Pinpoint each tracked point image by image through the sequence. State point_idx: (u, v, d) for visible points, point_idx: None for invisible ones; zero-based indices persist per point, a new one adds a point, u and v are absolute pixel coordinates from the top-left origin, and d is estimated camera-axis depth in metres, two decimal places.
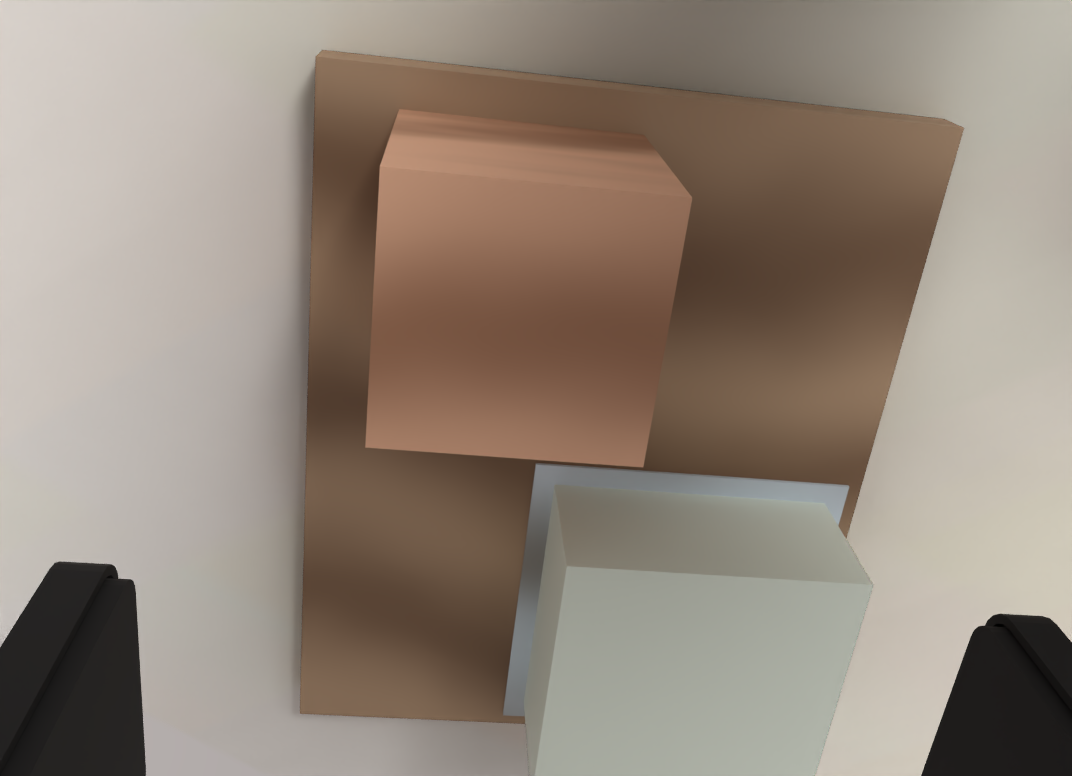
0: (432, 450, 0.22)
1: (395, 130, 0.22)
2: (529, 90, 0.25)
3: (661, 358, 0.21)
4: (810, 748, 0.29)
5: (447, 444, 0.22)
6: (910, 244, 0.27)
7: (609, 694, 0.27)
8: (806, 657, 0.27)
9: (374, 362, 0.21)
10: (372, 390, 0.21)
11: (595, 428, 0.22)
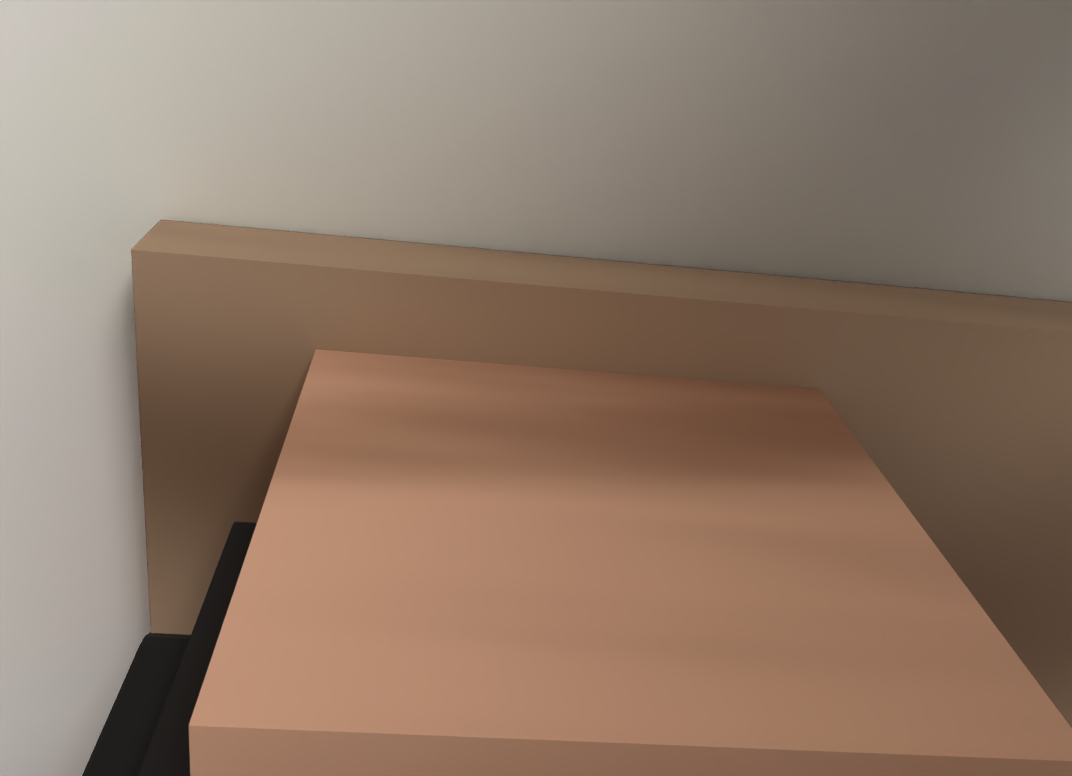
0: None
1: (287, 457, 0.09)
2: (588, 310, 0.12)
3: None
4: None
5: None
6: None
7: None
8: None
9: None
10: None
11: None
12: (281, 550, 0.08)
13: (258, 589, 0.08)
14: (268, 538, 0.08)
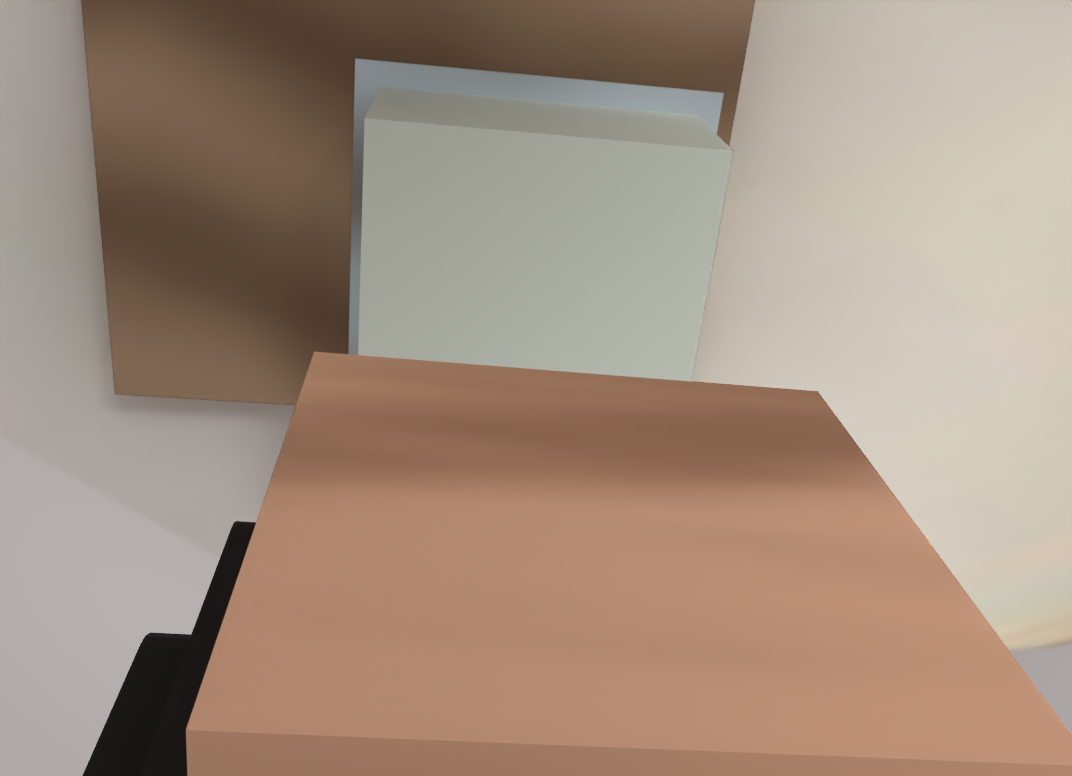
0: None
1: (286, 460, 0.09)
2: None
3: None
4: None
5: None
6: None
7: (433, 301, 0.24)
8: (662, 252, 0.23)
9: None
10: None
11: None
12: (279, 554, 0.08)
13: (256, 593, 0.08)
14: (266, 542, 0.08)
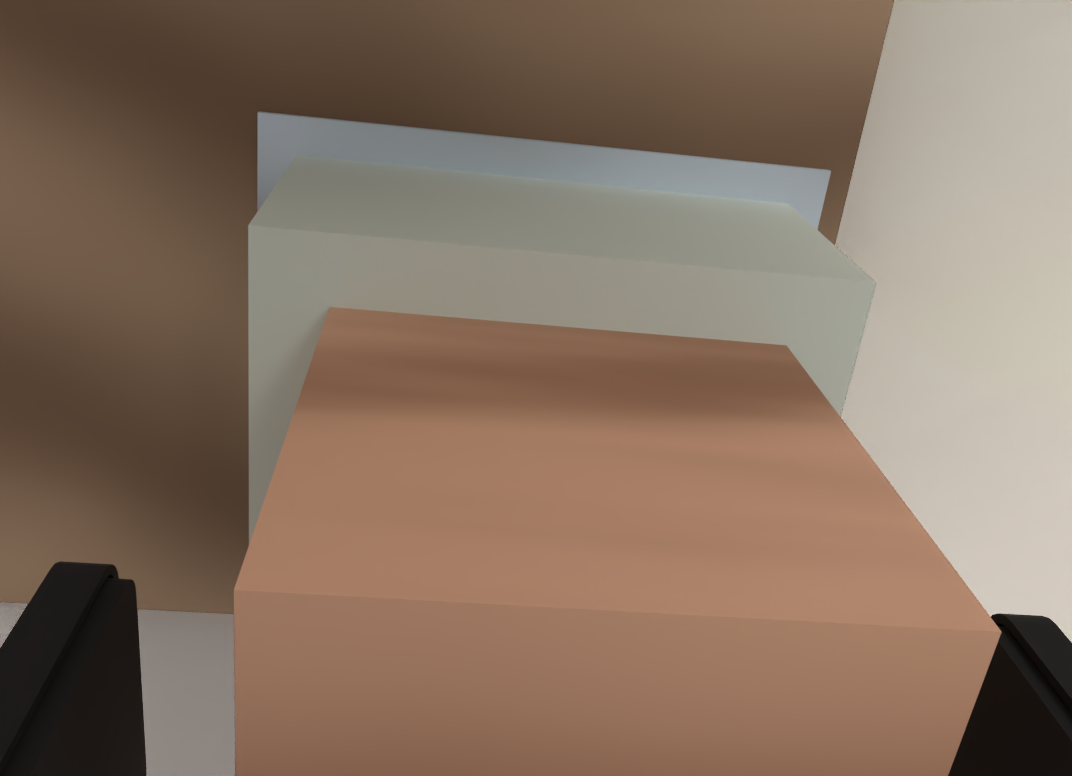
0: None
1: (308, 392, 0.11)
2: None
3: None
4: None
5: None
6: None
7: None
8: None
9: None
10: None
11: None
12: (305, 464, 0.09)
13: (287, 493, 0.09)
14: (294, 454, 0.09)
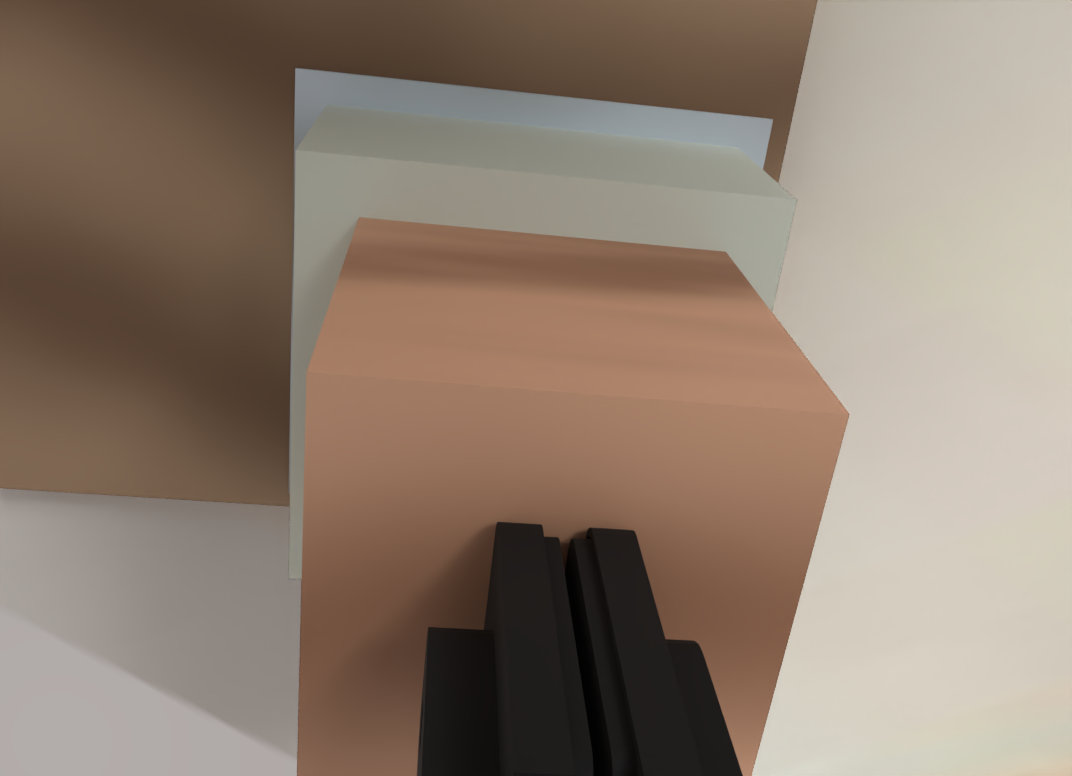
0: None
1: (347, 268, 0.14)
2: None
3: (781, 655, 0.13)
4: None
5: None
6: None
7: None
8: None
9: (307, 670, 0.13)
10: (305, 711, 0.13)
11: None
12: (349, 309, 0.13)
13: (337, 324, 0.12)
14: (340, 303, 0.13)
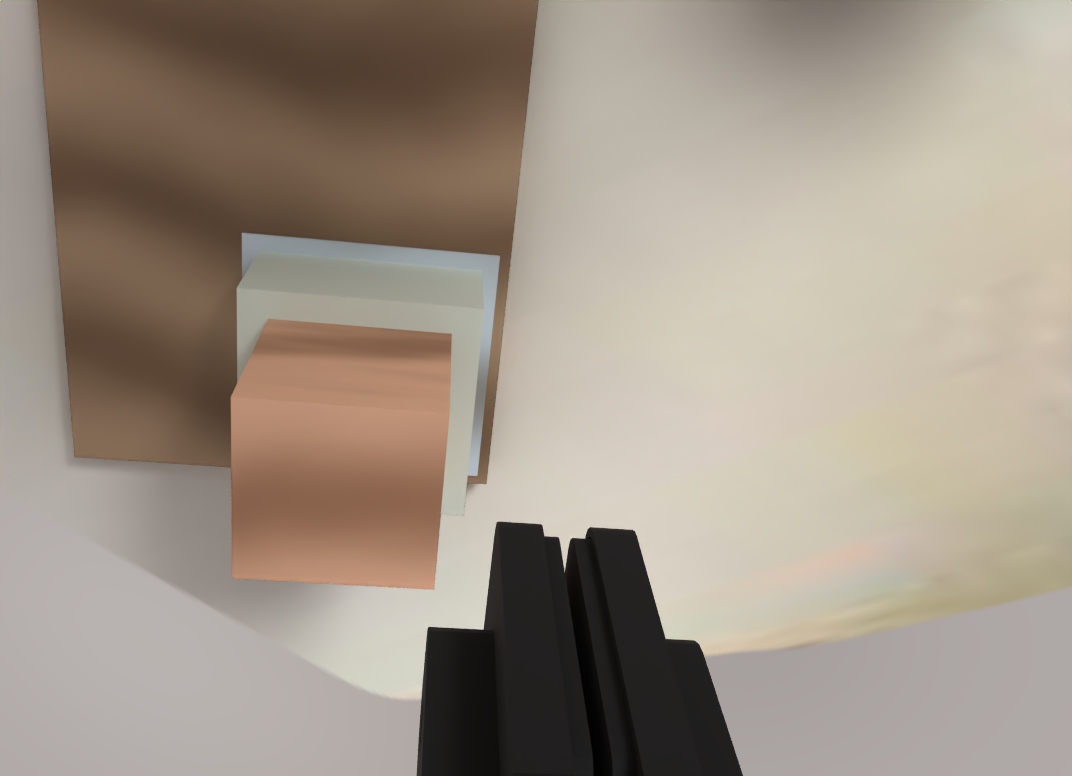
0: (280, 579, 0.31)
1: (256, 348, 0.31)
2: None
3: (439, 516, 0.30)
4: (459, 456, 0.36)
5: (291, 575, 0.31)
6: (517, 45, 0.34)
7: None
8: None
9: (235, 521, 0.30)
10: (235, 540, 0.30)
11: (396, 563, 0.31)
12: (253, 369, 0.30)
13: (247, 376, 0.29)
14: (249, 366, 0.30)
